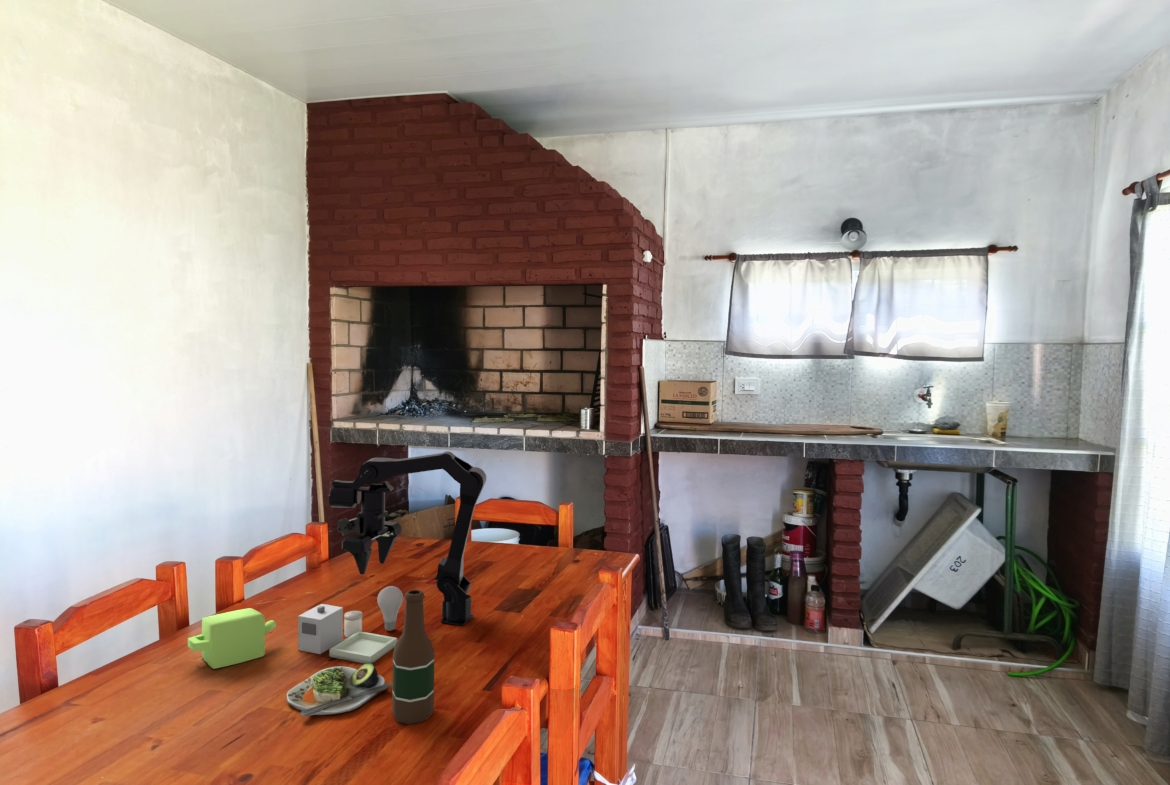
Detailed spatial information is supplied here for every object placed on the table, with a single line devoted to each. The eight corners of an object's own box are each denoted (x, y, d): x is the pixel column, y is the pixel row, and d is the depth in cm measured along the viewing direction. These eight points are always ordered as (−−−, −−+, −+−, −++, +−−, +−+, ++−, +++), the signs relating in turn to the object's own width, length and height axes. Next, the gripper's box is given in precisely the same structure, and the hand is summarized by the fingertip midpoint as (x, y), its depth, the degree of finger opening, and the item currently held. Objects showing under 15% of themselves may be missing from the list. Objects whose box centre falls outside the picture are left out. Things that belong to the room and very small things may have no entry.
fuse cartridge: (365, 632, 172) (365, 612, 172) (355, 638, 168) (355, 618, 168) (351, 629, 173) (351, 609, 173) (340, 636, 170) (340, 615, 169)
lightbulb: (395, 636, 170) (396, 592, 169) (372, 634, 171) (372, 589, 170) (407, 627, 176) (407, 583, 175) (384, 624, 177) (384, 581, 176)
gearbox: (268, 639, 168) (268, 600, 167) (285, 651, 161) (285, 610, 160) (184, 660, 155) (184, 617, 155) (198, 674, 148) (198, 629, 148)
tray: (397, 645, 165) (397, 637, 165) (370, 664, 155) (370, 656, 155) (358, 638, 168) (358, 631, 168) (329, 656, 158) (329, 648, 158)
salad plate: (336, 734, 129) (336, 709, 128) (261, 712, 135) (261, 689, 135) (401, 687, 146) (401, 665, 146) (332, 670, 153) (332, 649, 153)
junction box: (343, 639, 167) (343, 602, 167) (319, 654, 159) (319, 615, 159) (322, 635, 169) (322, 599, 169) (297, 650, 161) (297, 612, 160)
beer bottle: (395, 704, 139) (397, 584, 137) (436, 703, 139) (437, 584, 138) (388, 725, 131) (389, 599, 129) (430, 725, 132) (432, 599, 130)
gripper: (365, 498, 190) (364, 555, 191) (322, 513, 172) (322, 576, 173) (402, 501, 187) (401, 559, 188) (363, 518, 169) (362, 581, 170)
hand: (372, 568), depth 180 cm, fingers open, 9 cm apart
